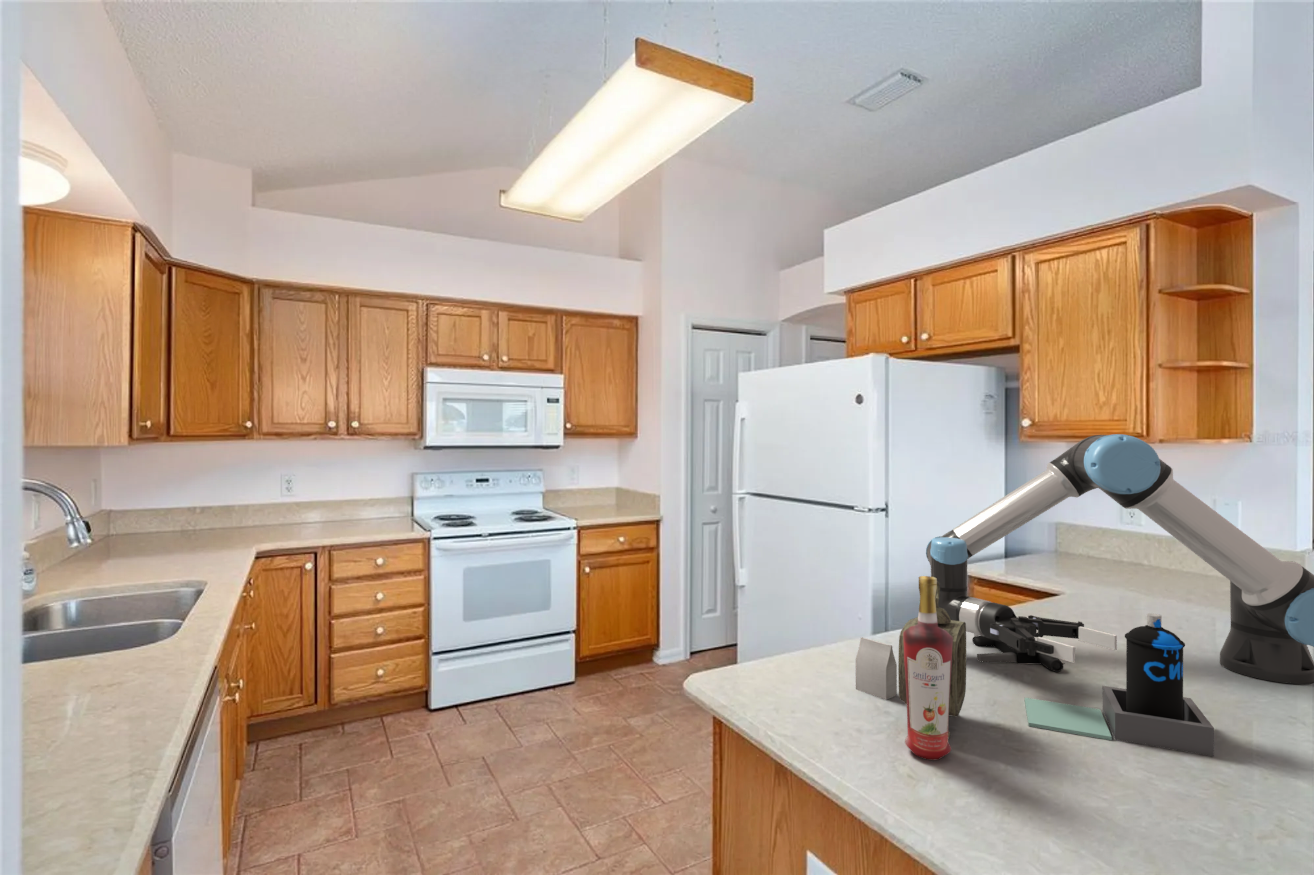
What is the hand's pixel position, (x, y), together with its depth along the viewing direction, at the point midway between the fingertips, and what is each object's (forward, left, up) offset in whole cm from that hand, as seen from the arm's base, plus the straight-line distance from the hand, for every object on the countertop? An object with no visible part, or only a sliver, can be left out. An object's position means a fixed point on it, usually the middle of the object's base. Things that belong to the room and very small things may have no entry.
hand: (1095, 648), depth 119 cm
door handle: (+13, -26, -12) cm, 32 cm away
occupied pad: (+5, +6, -11) cm, 14 cm away
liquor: (+26, +30, -12) cm, 42 cm away
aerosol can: (-8, +5, -12) cm, 15 cm away
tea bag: (+37, +8, -12) cm, 40 cm away
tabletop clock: (+26, +18, -12) cm, 34 cm away
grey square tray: (-8, +5, -11) cm, 15 cm away
